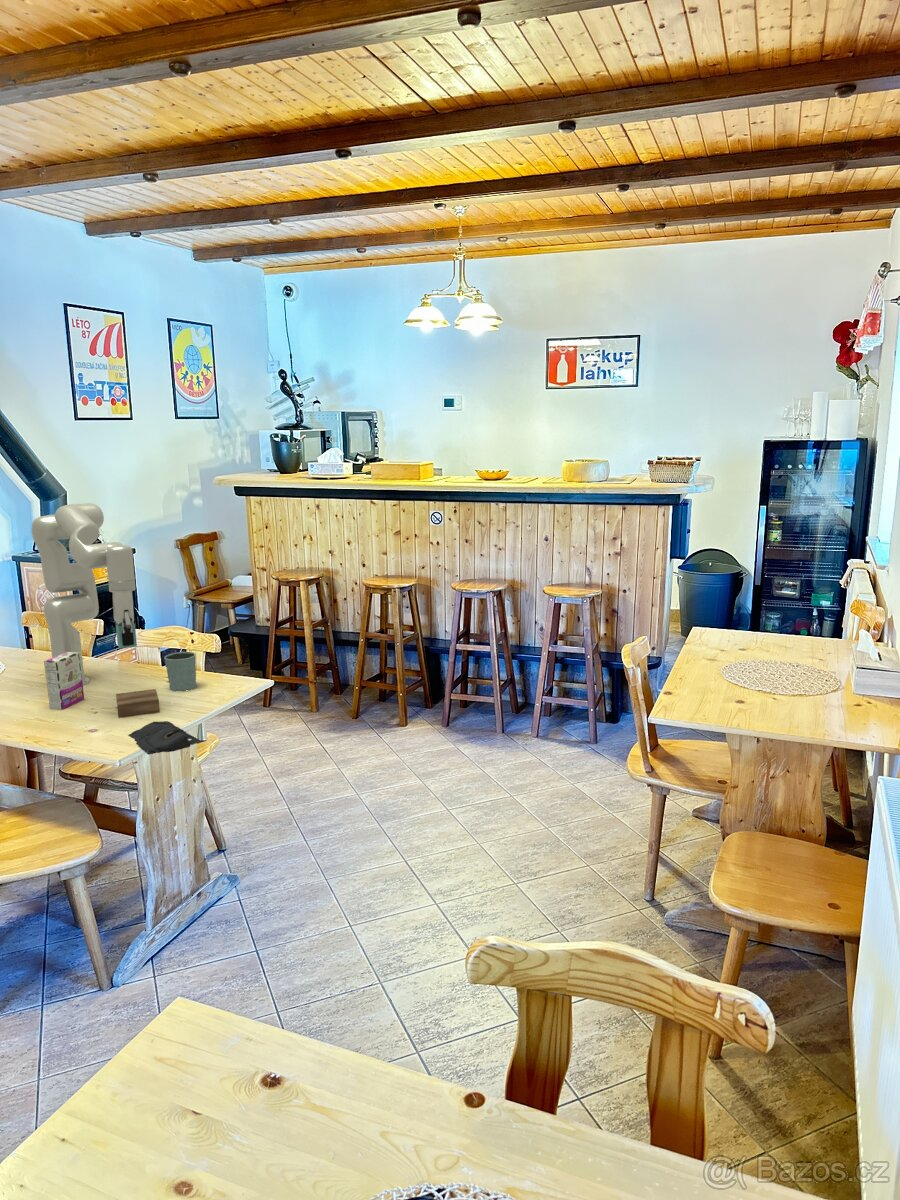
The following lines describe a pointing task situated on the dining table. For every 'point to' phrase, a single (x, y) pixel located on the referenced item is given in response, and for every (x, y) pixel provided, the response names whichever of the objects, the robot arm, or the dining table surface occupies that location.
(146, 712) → the walnut block
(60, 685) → the candy bar box
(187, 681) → the grey green cup
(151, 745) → the dark slate chunk
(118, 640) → the teal block
